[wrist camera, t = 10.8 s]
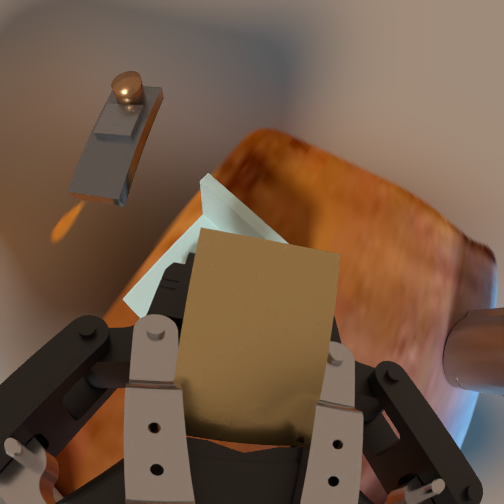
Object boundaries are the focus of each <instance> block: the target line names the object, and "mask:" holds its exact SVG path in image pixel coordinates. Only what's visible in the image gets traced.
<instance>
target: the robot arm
mask: <svg viewBox="0 0 504 504" xmlns="http://www.w3.org/2000/svg"><path fill="white" fill-rule="evenodd" d="M194 258H195V253H191V252H189V254H188V256H187V259H186V262H185V264H181V263H176V262H173V263H172V264H171V265H170V266H168V267H167V268H166V269H165V271H164V273H163V276H162V278H161V280H160V283H159V285H158V288H157V290H156V292H155V295H154V297H153V300H152V302H151V305H150V307H149V310H148V312H147V315H146V316H144V317H142V318H141V319H139V320H138V321H137V322H136V324H135V325H134V326H131V327H124V328H108V326H107V324H106V323H105V321H104V320H102V319H101V318H99V317H96V316H91V315H87V316H82V317H79V318H77V319H75V320H74V321H72V322H71V323H70V324H69V325H68V326H66V327H65V328H64V329H63V330H62V331H60V333H58V334H57V335H56V336H55V337H53V338H52V339H51V340H50V341H49V342H47V343H46V344H45V345H44V346H43V347H42V348H41V349H40V350H38V351H37V352H36V353H35V354H34V355H33V356H31V357H30V358H29V359H28V360H27V361H26V362H25V363H24V364H22V365H21V366H20V367H19V368H18V369H17V370H16V371H15V372H14V373H12V374H11V375H10V376H9V377H8V378H7V379H6V380H5V381H4V382H3V383H2V384H1V385H0V496H1V497H2V498H3V500H4V501H5V502H6V503H7V504H374V503H373V502H371V501H370V500H369V499H368V498H367V497H366V496H365V495H364V494H363V493H362V492H361V491H360V490H359V489H360V478H361V464H362V452H363V454H364V455H365V457H366V459H367V461H368V462H369V464H370V466H371V467H372V469H373V471H374V472H375V474H376V476H377V477H378V479H379V481H380V483H381V484H382V486H383V488H384V489H385V491H386V493H387V494H388V497H387V501H386V502H385V503H384V504H479V503H480V502H481V499H482V495H483V488H482V484H481V482H480V480H479V479H478V477H477V476H476V474H475V472H474V471H473V469H472V468H471V466H470V465H469V463H468V462H467V460H466V458H465V457H464V455H463V454H462V452H461V451H460V449H459V447H458V446H457V444H456V443H455V441H454V440H453V438H452V437H451V435H450V434H449V433H448V431H447V430H446V428H445V427H444V425H443V424H442V422H441V421H440V419H439V418H438V416H437V415H436V414H435V412H434V411H433V409H432V408H431V406H430V405H429V404H428V402H427V401H426V399H425V398H424V397H423V395H422V394H421V392H420V391H419V390H418V388H417V387H416V386H415V384H414V383H413V381H412V380H411V379H410V377H409V376H408V375H407V373H406V372H405V371H404V369H403V368H402V367H401V366H399V365H398V364H396V363H394V362H391V361H383V362H381V363H379V364H378V365H377V366H376V368H373V367H370V366H367V365H365V364H362V363H359V362H357V361H355V360H354V356H353V354H352V353H351V351H350V350H349V349H348V348H347V347H346V346H344V345H342V344H341V340H340V336H339V332H338V328H337V324H336V320H335V317H333V325H332V332H331V338H330V345H329V351H328V357H327V363H326V369H325V375H324V380H323V386H322V391H321V396H320V401H319V400H313V399H311V402H310V405H309V407H308V410H307V413H306V416H305V418H304V421H303V423H302V426H301V429H300V431H299V434H298V436H297V439H296V442H300V443H303V444H304V446H278V447H277V448H272V449H266V450H260V451H254V452H248V453H243V452H239V451H236V450H233V449H230V448H227V447H224V446H221V445H219V444H216V443H213V442H211V441H208V440H202V439H196V438H190V437H186V430H185V420H184V409H183V397H182V386H181V384H180V383H174V376H175V369H176V362H177V355H178V349H179V342H180V336H181V330H182V324H183V318H184V312H185V306H186V300H187V295H188V289H189V284H190V279H191V273H192V268H193V263H194ZM443 366H444V372H445V376H446V378H447V380H448V382H449V383H450V384H451V385H452V386H454V387H458V388H462V389H465V390H472V391H477V392H482V393H487V394H492V395H498V396H504V307H503V308H494V309H484V310H473V311H469V312H468V314H467V316H466V317H465V318H464V319H462V320H460V321H459V322H458V323H457V324H456V325H455V326H454V328H453V329H452V331H451V333H450V335H449V337H448V339H447V342H446V346H445V350H444V358H443ZM117 388H126V389H125V407H124V458H123V459H122V460H120V461H119V462H117V463H116V464H115V465H113V466H112V467H110V468H109V469H107V470H106V471H104V472H103V473H102V474H100V475H99V476H97V477H96V478H94V479H93V480H91V481H90V482H88V483H86V484H85V485H83V486H82V487H80V488H79V489H77V490H76V491H74V492H72V493H71V494H69V495H67V496H66V497H64V498H62V499H61V500H59V501H57V502H56V501H55V499H54V495H53V488H54V485H55V483H56V481H57V479H58V477H59V465H58V462H57V460H56V458H55V457H56V456H57V455H58V454H59V453H60V452H61V450H62V449H63V448H64V447H65V446H66V445H67V444H68V443H69V441H70V440H71V439H72V438H73V437H74V436H75V435H76V434H77V432H78V431H79V430H80V429H81V428H82V427H83V426H84V425H85V424H86V422H87V421H88V420H89V419H90V418H91V417H92V416H93V415H94V414H95V412H96V411H97V410H98V409H99V408H100V407H101V406H102V405H103V403H104V402H105V401H106V400H107V399H108V398H109V397H110V396H111V395H112V394H113V392H114V391H115V390H116V389H117ZM384 410H385V412H386V414H387V415H388V417H389V418H390V420H391V421H392V423H393V424H394V426H395V427H396V429H397V430H398V432H399V434H400V439H398V438H397V436H396V435H395V433H394V432H393V430H392V428H391V427H390V425H389V424H388V422H387V421H386V419H385V418H384V416H383V414H382V412H383V411H384Z"/></svg>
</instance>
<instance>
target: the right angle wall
mask: <svg viewBox="0 0 504 504" xmlns="http://www.w3.org/2000/svg"><path fill="white" fill-rule="evenodd" d="M200 188H201V198H202V209H203V215H202V216H201V217H200V218H199V219H198V220H197V221H196V222H195V223H194V224H193V225H192V226H191V227H190V228H189V229H188V230H187V231H186V232H185V233H184V234H183V235H182V236H181V237H180V238H179V239H178V240H177V241H176V242H175V243H174V244H173V245H172V246H171V248H170V249H169V250H168V251H167V252H166V253H165V254H164V255H163V256H162V257H161V258H160V259H159V260H158V261H157V262H156V263H155V264H154V265H153V266H152V268H151V269H150V270H149V271H148V272H147V273H146V274H145V275H144V276H143V277H142V278H141V279H140V281H139V282H138V283H137V284H136V285H135V286H134V287H133V288H132V289H131V290H130V292H129V293H128V294H127V295H126V296H125V297H124V298H123V300H124V302H125V303H126V304H127V305H128V306H129V307H130V308H131V309H132V310H133V311H134V312H135V313H136V314H137V315H138V316H139V317H140V318H142V317H144V316H146V315H147V312H148V310H149V307H150V305H151V302H152V300H153V297H154V295H155V292H156V290H157V288H158V285H159V283H160V280H161V278H162V276H163V273H164V271H165V269H166V268H167V267H168V266H170V265H171V264H172V263H173V262H176V263H181V264H185V262H186V259H187V256H188V254H189V252H191V253H196V248H197V243H198V238H199V234H200V229H201V227H202V228H207V229H213V230H218V231H223V232H229V233H234V234H239V235H245V236H250V237H255V238H261V239H266V240H271V241H276V242H281V243H287V242H286V241H285V240H284V239H283V238H282V237H281V236H280V235H278V234H277V233H276V232H275V231H274V230H273V229H272V228H271V227H270V226H268V225H267V224H266V223H265V222H264V221H263V220H262V219H261V218H259V217H258V216H257V215H256V214H255V213H254V212H253V211H252V210H250V209H249V208H248V207H247V206H246V205H245V204H244V203H242V202H241V201H240V200H239V199H238V198H237V197H236V196H234V195H233V194H232V193H231V192H230V191H229V190H227V189H226V188H225V187H224V186H223V185H222V184H221V183H219V182H218V181H217V180H216V179H215V178H214V177H212V176H211V175H210V174H209V173H208V174H207V175H206V176H205V177H204V178H203V179H202V180H201V181H200ZM287 244H288V243H287Z"/></svg>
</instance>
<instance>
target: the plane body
mask: <svg viewBox="0 0 504 504" xmlns="http://www.w3.org/2000/svg"><path fill="white" fill-rule="evenodd" d="M111 87H112V92H111V94H110V96H109V98H108V100H107V102H106V104H105V105H104V108H103V110H102V111H101V113H100V116H99V117H98V120H97V122H96V124H95V126H94V128H93V130H92V133H91V134H90V137H89V139H88V141H87V144H86V146H85V148H84V151H83V153H82V155H81V158H80V160H79V163H78V166H77V168H76V171H75V173H74V176H73V179H72V181H71V184H70V187H69V190H68V193H70V194H71V195H72V196H73V197H74V198H75V199H79V200H85V201H92V202H98V203H105V204H111V205H117V206H125V204H126V200H127V197H128V193H129V190H130V187H131V183H132V181H133V178H134V175H135V171H136V169H137V165H138V163H139V160H140V157H141V154H142V151H143V149H144V146H145V143H146V140H147V138H148V135H149V133H150V130H151V127H152V125H153V122H154V120H155V117H156V115H157V112H158V110H159V108H160V105H161V103H162V101H163V93H162V88H160V87H144V86H143V85H142V81H141V77H140V75H139V73H137V72H134V71H128V72H124V73H122V74H120V75H118V76H117V77H116V78H115V79H114V80H113V82H112V84H111Z"/></svg>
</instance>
